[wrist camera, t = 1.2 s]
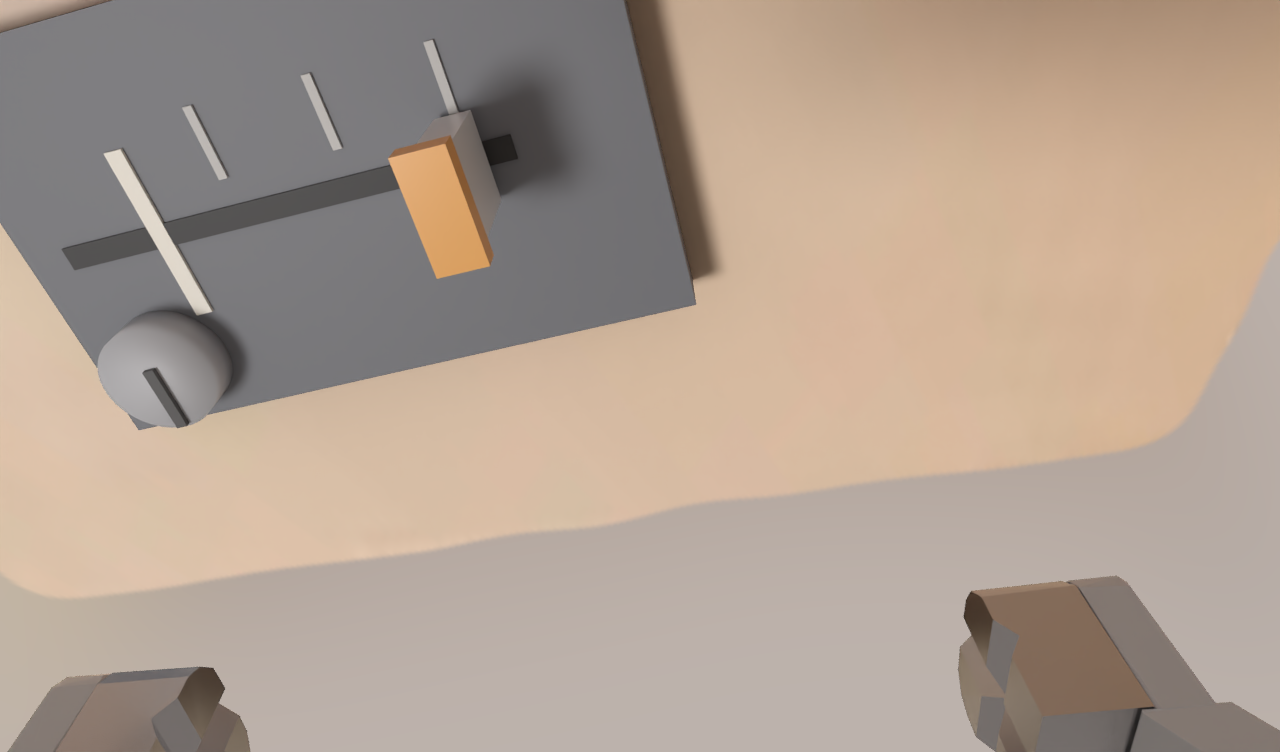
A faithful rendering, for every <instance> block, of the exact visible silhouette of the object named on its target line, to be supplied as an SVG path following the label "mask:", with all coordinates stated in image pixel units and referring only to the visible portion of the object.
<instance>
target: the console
mask: <svg viewBox="0 0 1280 752" xmlns="http://www.w3.org/2000/svg"><path fill="white" fill-rule="evenodd" d="M467 110H471V113H472V116H473V119H474V121H475V124H476V127H477V130H478V133H479V136H480V139H481V142H482V145H483V148H484V150H485V153H486V156H487V159H488V162H489V165H490V168H491V171H492V174H493V177H494V179H495V182H496V185H497V188H498V191H499V194H500V197H501V202H500V205H499V207H498V210H497V213H496V216H495V218H494V221H493V224H492V227H491V229H490V232H489V235H488V240H489V243H490V245H491V248H492V251H493V254H494V256H493V259H492V262H491V265H490V266H489V267H485V268H481V269H477V270H472V271H468V272H464V273H460V274H456V275H451V276H447V277H443V278H439V279H437V278H436V276H435V273H434V271H433V268H432V266H431V263H430V261H429V258H428V256H427V253H426V251H425V249H424V246H423V244H422V241H421V239H420V236H419V234H418V231H417V229H416V226H415V224H414V221H413V219H412V216H411V214H410V212H409V209H408V207H407V204H406V202H405V199H404V197H403V194H402V192H401V189H400V187H399V184H398V182H397V179H396V177H395V175H394V172H393V170H392V167H391V165H390V162H389V160H388V158H389V156H390V155H391V154H392V153H393V151H394V150H395V149H399V148H402V147H406V146H410V145H414V144H417V142H418V141H419V139H420V138H421V137H422V135H423V134H424V132H425V131H426V130H427V128H428V127H429V126H430V124H431V123H432V121H433V120H434V119H437V118H441V117H444V116H448V115H452V114H456V113H460V112H464V111H467ZM0 223H1V225H2V226H3V228H4V229H5V231H6V232H7V234H8V235H9V237H10V238H11V240H12V241H13V243H14V244H15V246H16V247H17V249H18V250H19V252H20V253H21V255H22V256H23V258H24V259H25V261H26V262H27V264H28V265H29V267H30V268H31V270H32V271H33V273H34V274H35V276H36V277H37V279H38V280H39V282H40V283H41V285H42V286H43V288H44V289H45V291H46V292H47V294H48V295H49V297H50V298H51V300H52V301H53V303H54V304H55V306H56V307H57V309H58V310H59V312H60V313H61V315H62V316H63V318H64V319H65V321H66V322H67V324H68V325H69V327H70V328H71V330H72V331H73V333H74V334H75V336H76V337H77V339H78V340H79V342H80V343H81V345H82V346H83V347H84V349H85V350H86V352H87V353H88V355H89V356H90V358H91V359H92V361H93V362H94V364H95V365H96V367H97V368H98V375H99V378H100V381H101V384H102V386H103V388H104V389H105V391H106V393H107V394H108V395H109V397H110V398H111V399H112V400H113V401H114V402H115V403H116V404H117V405H118V406H119V407H120V408H121V409H122V410H124V411H125V412H127V413H128V415H129V416H130V418H131V419H132V421H133V422H134V424H135V425H136V427H137V428H138V430H142V429H146V428H151V427H155V426H161V427H177V428H180V427H185V426H188V425H191V424H194V423H196V422H198V421H200V420H201V419H203V418H204V417H205V416H206V415H209V414H213V413H217V412H222V411H226V410H231V409H235V408H240V407H244V406H248V405H253V404H257V403H262V402H266V401H271V400H275V399H280V398H284V397H288V396H293V395H297V394H302V393H306V392H311V391H315V390H319V389H324V388H328V387H333V386H337V385H342V384H346V383H351V382H355V381H359V380H364V379H368V378H373V377H377V376H382V375H386V374H391V373H395V372H399V371H404V370H408V369H413V368H417V367H422V366H426V365H430V364H435V363H439V362H444V361H448V360H453V359H457V358H462V357H466V356H470V355H475V354H479V353H484V352H488V351H493V350H497V349H502V348H506V347H510V346H515V345H519V344H524V343H528V342H533V341H537V340H541V339H546V338H550V337H555V336H559V335H564V334H568V333H573V332H577V331H581V330H586V329H590V328H595V327H599V326H604V325H608V324H612V323H617V322H621V321H626V320H630V319H635V318H639V317H644V316H648V315H652V314H657V313H661V312H666V311H670V310H675V309H679V308H684V307H688V306H692V305H696V300H695V293H694V286H693V280H692V276H691V271H690V267H689V263H688V259H687V255H686V250H685V246H684V242H683V238H682V234H681V229H680V225H679V221H678V217H677V212H676V208H675V204H674V200H673V196H672V191H671V187H670V183H669V179H668V175H667V170H666V166H665V162H664V158H663V154H662V149H661V145H660V141H659V137H658V132H657V128H656V124H655V120H654V116H653V111H652V107H651V103H650V99H649V95H648V90H647V86H646V82H645V78H644V74H643V69H642V65H641V61H640V57H639V52H638V48H637V44H636V40H635V36H634V31H633V27H632V23H631V19H630V15H629V10H628V6H627V2H626V0H112V1H109V2H105V3H102V4H98V5H95V6H91V7H88V8H84V9H81V10H77V11H74V12H71V13H67V14H64V15H60V16H57V17H53V18H50V19H46V20H43V21H40V22H36V23H33V24H29V25H26V26H22V27H19V28H15V29H12V30H9V31H5V32H2V33H0Z"/></svg>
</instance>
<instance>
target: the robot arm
mask: <svg viewBox="0 0 1280 752" xmlns="http://www.w3.org/2000/svg"><path fill="white" fill-rule="evenodd" d="M964 619H965V621H966V624H967V626H968V628H969V630H970V632H971V637H969V638H968V639H967V641H965V642H964V643H963V645H961V646H960V653H959V667H958V671H959V680H960V688H961V695H962V699H963V702H964V706H965V709H966V712H967V716H968V718H969V721H970V723H971V726H972V728H973V730H974V733H975V736H976V737H977V738H978V739H980V740H981V741H982V742H983V743H985V744H986V745H987V746H989V747H990V748H991V749H993V750H994V751H995V752H1280V731H1279V730H1278V729H1276V728H1274V727H1273V726H1271V725H1269V724H1268V723H1266V722H1264V721H1263V720H1261V719H1259V718H1257V717H1256V716H1254V715H1252V714H1250V713H1249V712H1247V711H1246V710H1244V709H1242V708H1241V707H1239V706H1237V705H1235V704H1234V703H1232V702H1228V703H1215V702H1214V700H1213V699H1212V698H1211V696H1210V695H1209V693H1208V692H1207V691H1206V689H1205V688H1204V687H1203V685H1202V684H1201V683H1200V681H1199V680H1198V678H1197V677H1196V676H1195V674H1194V673H1193V672H1192V670H1191V669H1190V668H1189V666H1188V665H1187V663H1186V662H1185V661H1184V659H1183V658H1182V657H1181V655H1180V654H1179V652H1178V651H1177V650H1176V648H1175V647H1174V646H1173V644H1172V643H1171V642H1170V640H1169V639H1168V638H1167V636H1166V635H1165V634H1164V632H1163V631H1162V629H1161V628H1160V627H1159V625H1158V624H1157V622H1156V621H1155V620H1154V619H1153V617H1152V616H1151V614H1150V613H1149V612H1148V610H1147V609H1146V607H1145V606H1144V605H1143V603H1142V602H1141V601H1140V599H1139V598H1138V597H1137V596H1136V594H1135V593H1134V591H1133V590H1132V588H1131V587H1130V586H1129V585H1128V583H1127V582H1126V581H1124V580H1123V579H1121V578H1120V577H1117V576H1109V577H1100V578H1091V579H1080V580H1070V581H1067V582H1063V581H1058V582H1049V583H1040V584H1031V585H1022V586H1012V587H1003V588H995V589H986V590H975V591H971V592H970V594H969V595H968V597H967V599H966V604H965V611H964ZM224 690H225V687H224V685H223V684H222V682H221V680H220V679H219V677H218V675H217V673H216V672H215V670H214V668H209V667H191V668H176V669H162V670H147V671H133V672H120V673H112V674H102V675H88V676H75V677H67V678H65V679H64V680H62V681H61V682H60V683H58V684H56V685H55V686H53V687H52V688H51V689H50V691H49V692H48V693H47V695H46V697H45V698H44V699H43V701H42V702H41V704H40V705H39V707H38V708H37V710H36V711H35V712H34V714H33V715H32V717H31V718H30V720H29V721H28V723H27V724H26V726H25V727H24V729H23V730H22V731H21V733H20V734H19V736H18V737H17V739H16V740H15V742H14V743H13V745H12V746H11V748H10V749H9V751H8V752H250V747H249V741H248V735H247V730H246V728H245V726H244V724H243V722H242V720H241V718H240V716H239V715H237V714H236V713H234V712H232V711H231V710H229V709H227V708H226V707H224V706H222V705H221V704H219V701H220V699H221V697H222V694H223V692H224Z"/></svg>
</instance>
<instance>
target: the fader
mask: <svg viewBox="0 0 1280 752" xmlns="http://www.w3.org/2000/svg"><path fill="white" fill-rule="evenodd" d="M388 160H389V162H390V165H391V167H392V170H393V172H394V175H395V177H396V179H397V182H398V184H399V187H400V189H401V192H402V194H403V197H404V199H405V202H406V204H407V207H408V209H409V212H410V214H411V216H412V219H413V221H414V224H415V226H416V229H417V231H418V234H419V236H420V239H421V241H422V244H423V246H424V249H425V251H426V253H427V256H428V258H429V261H430V263H431V266H432V268H433V271H434V273H435V276H436V278H437V279H439V278H443V277H447V276H451V275H456V274H460V273H464V272H468V271H472V270H477V269H481V268H485V267H489V266H490V265H491V262H492V259H493V256H494V254H493V251H492V248H491V245H490V243H489V240H488V235H489V232H490V229H491V227H492V224H493V221H494V218H495V216H496V213H497V210H498V207H499V205H500V202H501V197H500V194H499V191H498V188H497V185H496V182H495V179H494V177H493V174H492V171H491V168H490V165H489V162H488V159H487V156H486V153H485V150H484V148H483V145H482V142H481V139H480V136H479V133H478V130H477V127H476V124H475V121H474V119H473V116H472V113H471V110H467V111H464V112H460V113H456V114H452V115H448V116H444V117H441V118H437V119H434V120H433V121H432V123H431V124H430V126H429V127H428V128H427V130H426V131H425V132H424V134H423V135H422V137H421V138H420V139H419V141H418V142H417V144H414V145H410V146H406V147H402V148H399V149H395V150H394V151H393V153H392V154H391V155H390V156H389V158H388Z"/></svg>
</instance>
